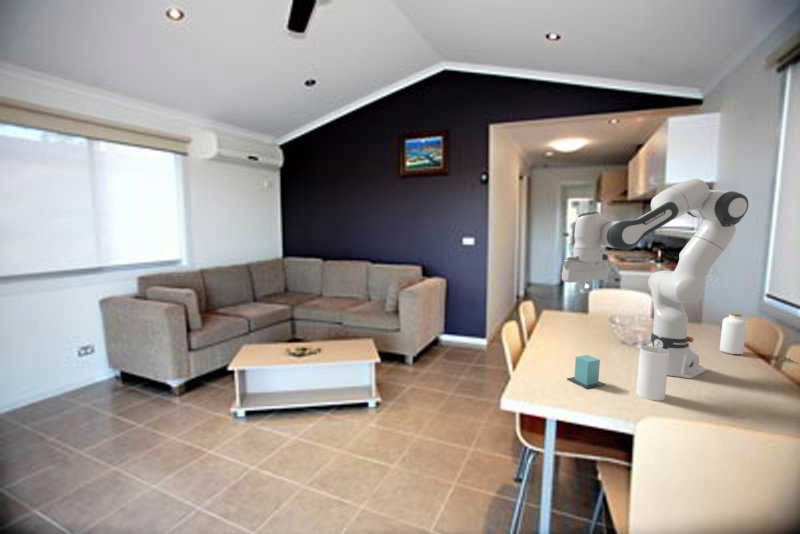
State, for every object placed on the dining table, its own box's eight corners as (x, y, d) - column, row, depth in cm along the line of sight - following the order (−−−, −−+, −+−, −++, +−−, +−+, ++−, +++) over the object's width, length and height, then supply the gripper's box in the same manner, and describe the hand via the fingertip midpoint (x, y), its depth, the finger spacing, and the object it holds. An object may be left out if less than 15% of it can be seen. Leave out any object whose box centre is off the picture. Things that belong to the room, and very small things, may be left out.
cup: (669, 401, 133) (673, 354, 131) (641, 399, 135) (645, 352, 133) (658, 391, 141) (662, 346, 139) (632, 389, 143) (636, 344, 141)
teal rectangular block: (585, 377, 152) (587, 354, 151) (598, 382, 146) (599, 359, 145) (574, 379, 150) (575, 356, 148) (586, 385, 144) (588, 361, 143)
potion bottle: (723, 354, 181) (727, 314, 179) (716, 348, 189) (720, 310, 187) (746, 356, 178) (751, 316, 176) (738, 351, 186) (743, 312, 184)
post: (585, 376, 154) (586, 357, 153) (605, 385, 146) (606, 365, 145) (567, 379, 151) (568, 360, 150) (586, 389, 142) (587, 369, 141)
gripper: (571, 258, 144) (569, 296, 146) (612, 255, 152) (610, 292, 154) (558, 256, 150) (556, 293, 152) (598, 254, 158) (596, 289, 160)
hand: (584, 292), depth 153 cm, fingers closed
